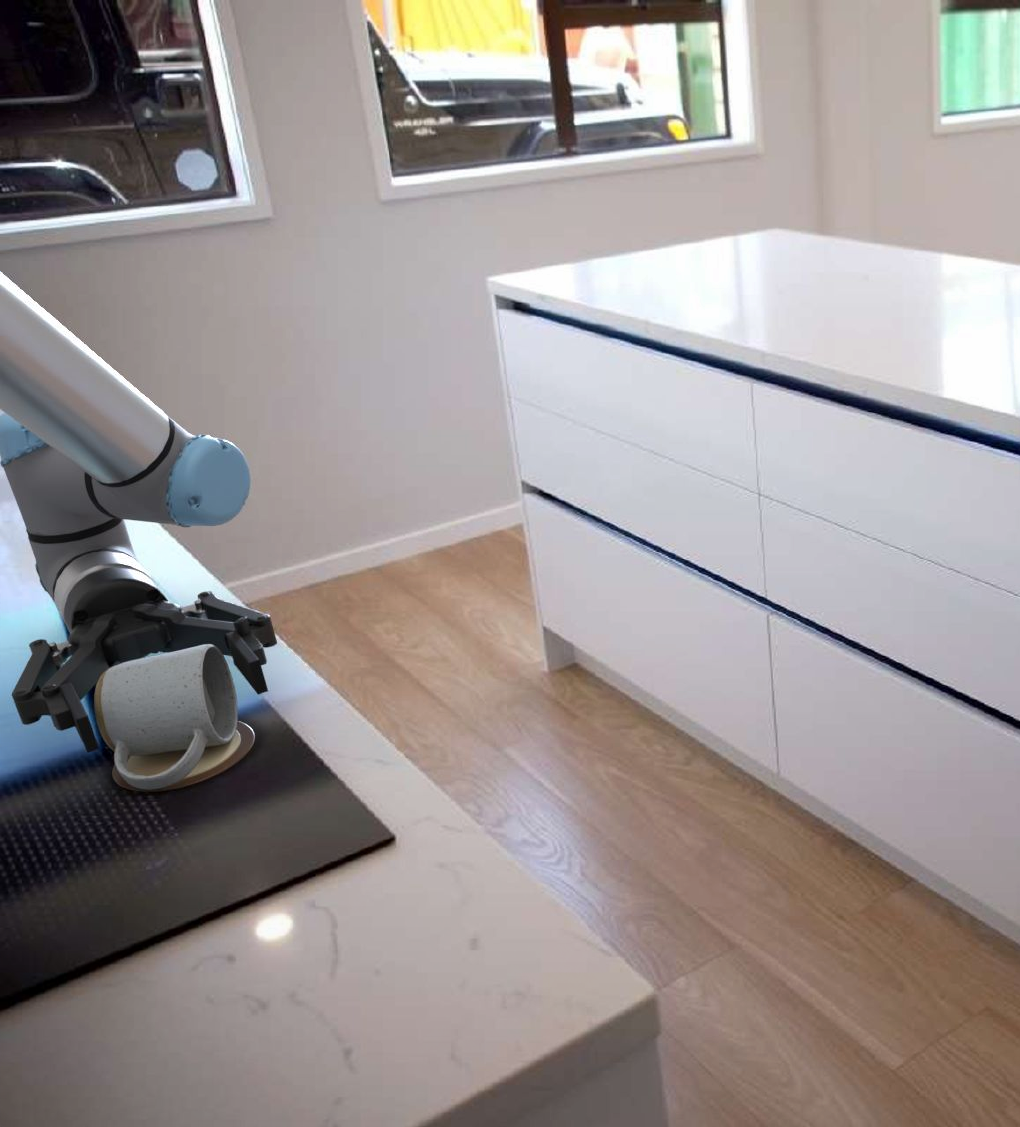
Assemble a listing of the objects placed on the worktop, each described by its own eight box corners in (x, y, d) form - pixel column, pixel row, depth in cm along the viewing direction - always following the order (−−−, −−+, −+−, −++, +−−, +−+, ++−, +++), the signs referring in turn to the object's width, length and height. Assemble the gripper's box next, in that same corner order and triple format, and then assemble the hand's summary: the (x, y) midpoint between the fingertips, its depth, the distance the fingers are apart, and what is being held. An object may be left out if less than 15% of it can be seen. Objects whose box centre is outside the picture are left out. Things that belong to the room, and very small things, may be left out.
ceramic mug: (135, 727, 102) (106, 643, 98) (244, 710, 103) (219, 626, 100) (97, 804, 92) (64, 713, 89) (218, 784, 94) (189, 694, 91)
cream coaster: (87, 801, 94) (83, 790, 94) (157, 729, 103) (154, 719, 103) (220, 797, 94) (216, 786, 93) (278, 725, 103) (275, 715, 103)
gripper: (265, 604, 117) (347, 693, 101) (-31, 694, 104) (9, 812, 88) (245, 528, 114) (326, 607, 98) (-63, 612, 101) (-28, 718, 85)
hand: (176, 705), depth 93 cm, fingers open, 11 cm apart
